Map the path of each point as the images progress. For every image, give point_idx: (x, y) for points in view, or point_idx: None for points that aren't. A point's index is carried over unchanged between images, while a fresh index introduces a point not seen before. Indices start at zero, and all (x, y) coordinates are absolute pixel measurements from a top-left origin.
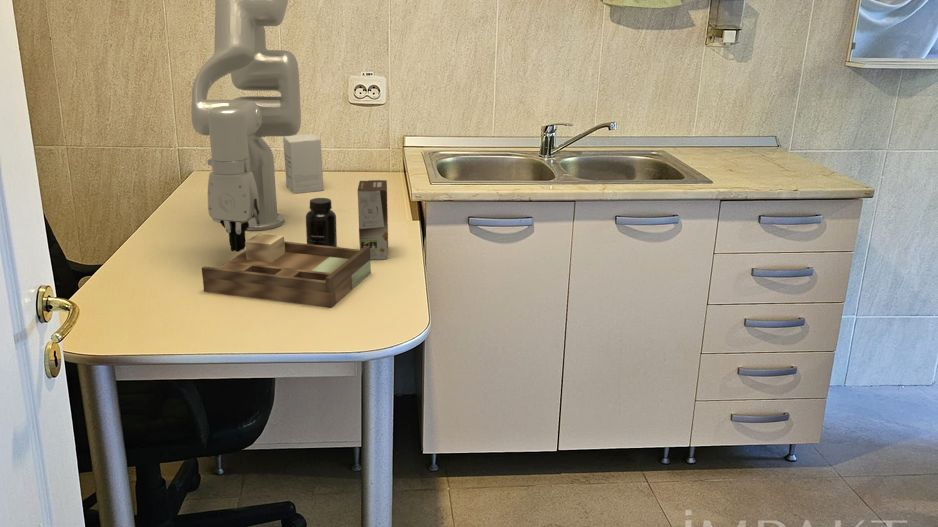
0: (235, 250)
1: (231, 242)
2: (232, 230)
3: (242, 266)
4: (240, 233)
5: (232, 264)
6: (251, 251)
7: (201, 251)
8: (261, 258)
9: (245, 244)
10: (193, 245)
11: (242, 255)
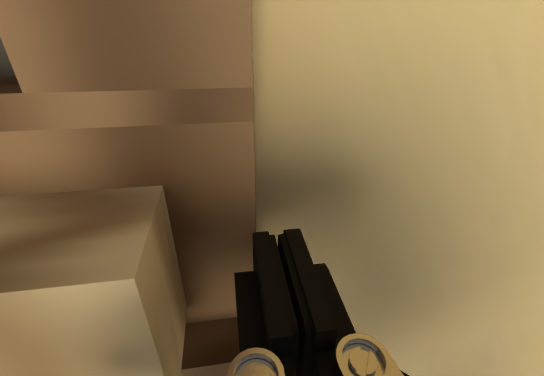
0: (268, 233)
1: (305, 268)
2: (330, 373)
3: (79, 51)
4: (234, 362)
5: (185, 66)
6: (96, 225)
7: (468, 267)
8: (29, 205)
9: (137, 259)
10: (505, 293)
11: (231, 229)
